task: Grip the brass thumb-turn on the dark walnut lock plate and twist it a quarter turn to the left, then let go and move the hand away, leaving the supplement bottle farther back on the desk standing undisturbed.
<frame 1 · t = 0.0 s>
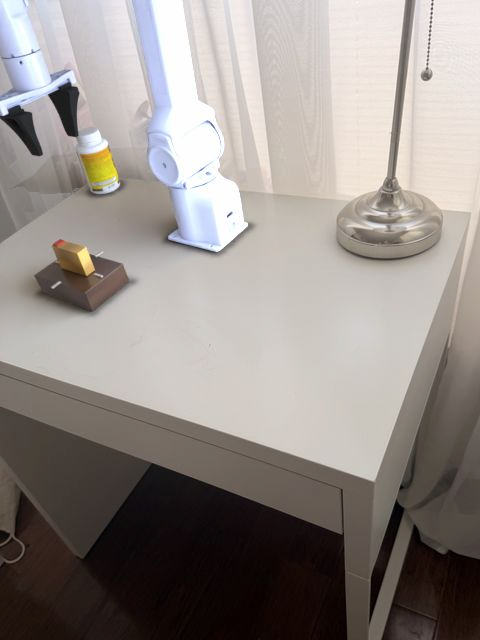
hand: (55, 145, 88), 10 cm above the table, tool pointing down, fingers open, 7 cm apart
thumbturn: (73, 257, 71), point 5 cm above the table, hinge at 0.0°
supplement bottle: (106, 189, 98), on the table, touching gripper
lock plate: (85, 287, 74), on the table
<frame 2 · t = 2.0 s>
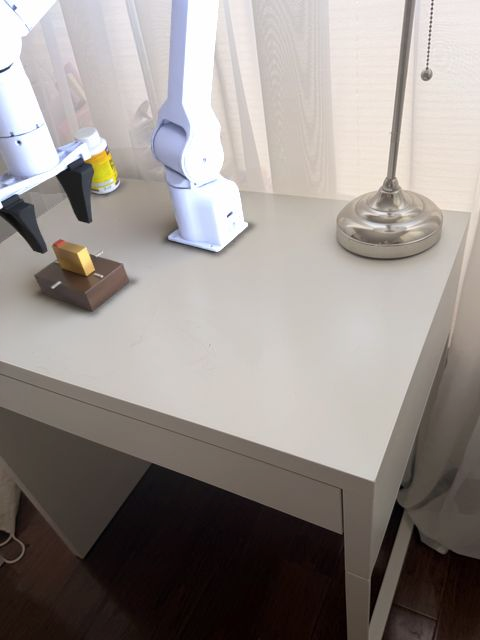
hand: (63, 235, 69), 8 cm above the table, tool pointing down, fingers open, 7 cm apart
supplement bottle: (106, 187, 97), on the table
everything else where it was.
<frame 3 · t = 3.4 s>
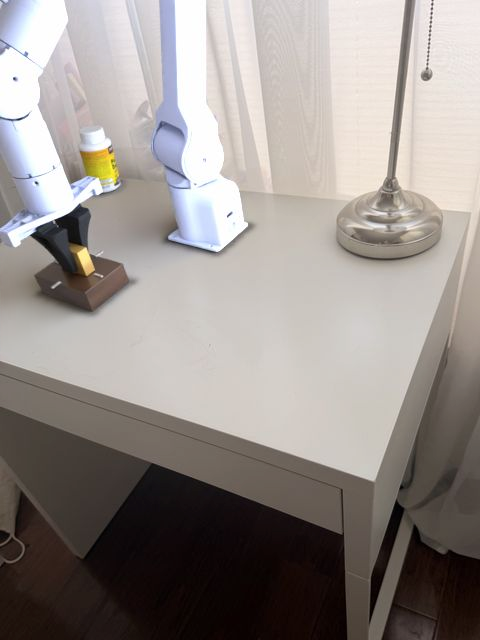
hand: (77, 266, 72), 4 cm above the table, tool pointing down, fingers closed on thumbturn, 2 cm apart
thumbturn: (73, 257, 71), point 5 cm above the table, hinge at -0.1°, touching gripper
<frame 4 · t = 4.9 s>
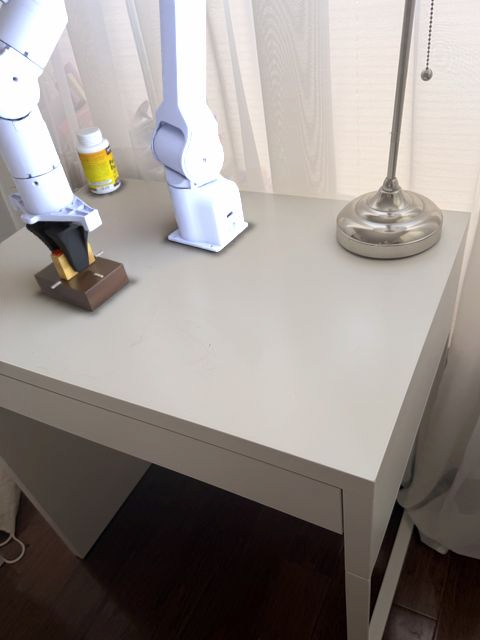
hand: (76, 266, 72), 4 cm above the table, tool pointing down, fingers closed on thumbturn, 2 cm apart
thumbturn: (73, 257, 71), point 5 cm above the table, hinge at 89.2°, touching gripper
everything else where it was.
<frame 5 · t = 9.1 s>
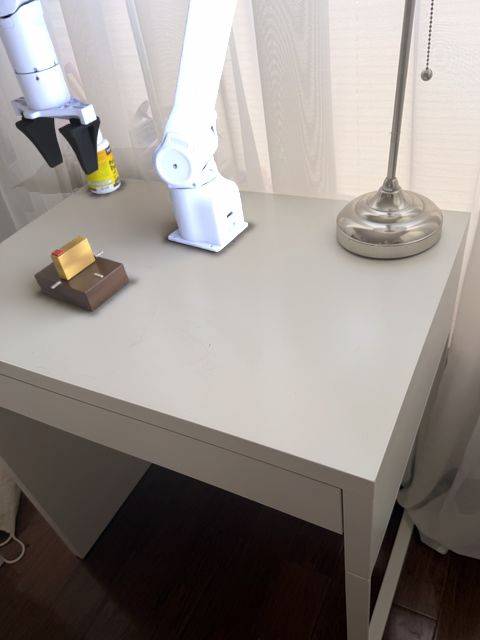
hand: (74, 168, 79), 10 cm above the table, tool pointing down, fingers open, 7 cm apart
thumbturn: (73, 257, 71), point 5 cm above the table, hinge at 89.3°
everything else where it was.
at the end: thumbturn at +89° (first picture: +0°); thumbturn reached +89° during the clip, +89° at the end; supplement bottle moved 0.2 cm from its start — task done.
